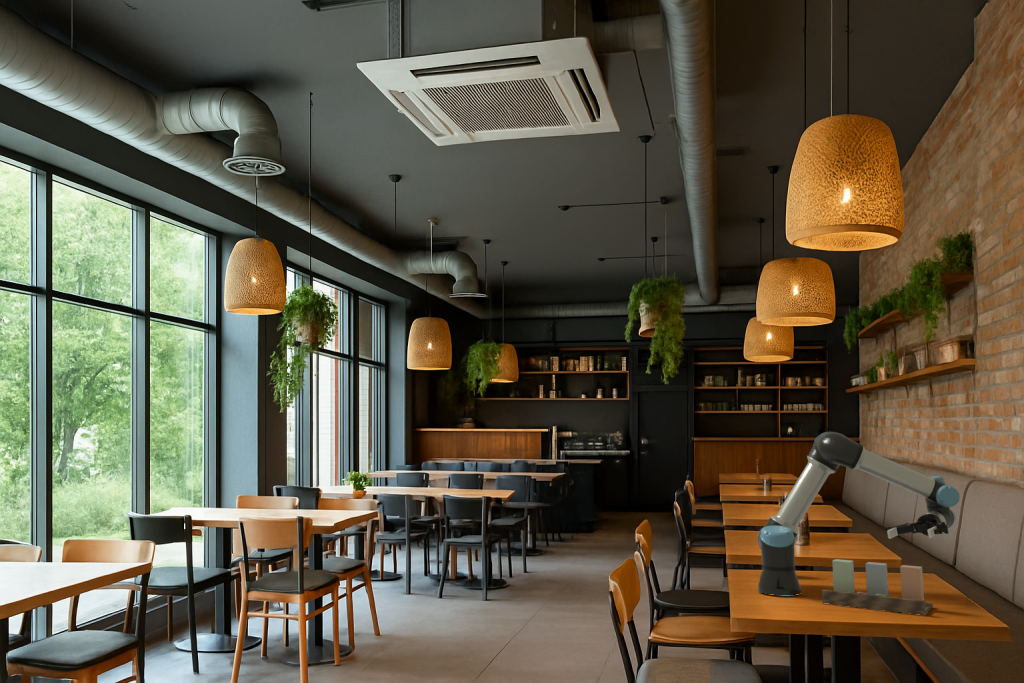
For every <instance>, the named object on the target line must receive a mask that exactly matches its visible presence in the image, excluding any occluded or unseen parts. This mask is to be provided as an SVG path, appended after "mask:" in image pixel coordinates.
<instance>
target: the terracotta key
mask: <svg viewBox="0 0 1024 683" xmlns="http://www.w3.org/2000/svg"><path fill="white" fill-rule="evenodd" d="M899 570H900V584H901V585H900V587H901V588H900V590H901V598H904V599H913V600H922V601H925V592H924V578H923V574H924V572H923V566H917V565H906V564H902V565H901V566H900V567H899Z"/></svg>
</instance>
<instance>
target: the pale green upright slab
mask: <svg viewBox="0 0 1024 683" xmlns="http://www.w3.org/2000/svg"><path fill="white" fill-rule="evenodd" d="M831 563H832V580H833V591H840V592H849V593H856V591H855V589H856V588H855V587H856V585H855V570H854V560H852V559H851V560H849V559H838V558H836V559H835V558H834V559H833V560H832V562H831Z"/></svg>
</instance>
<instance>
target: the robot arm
mask: <svg viewBox="0 0 1024 683" xmlns="http://www.w3.org/2000/svg"><path fill="white" fill-rule="evenodd" d="M806 457H807V464H806V465H805V467H804V469H803V471H802V472H801V474H800V476H799V477H798V479H797V480H796V482H795V484H794V485H793V486H792V489H791V491H790V492H789V494H788V496H787V497H786V499H785V501H784V502H783V504H782V505H781V507H780V509H779V510H778V512H777V514H775V515H771V516H770V517H769V519H768V520H767V522H766V524H765V525H764V526H763V527H762V528H760V529H759V532H758V534H757V544H758V547H759V549H760V551H761V574H760V576H759V580H758V581H759V582H758V585H757V591H759V592H761V593H760V594H762V593H766V594H774V595H796V594H800V593H801V594H802V586H801V585H800V582H799V579H798V576H797V573H796V561H795V560H796V557H795V556H796V555H795V539H796V538H797V536H798V535H799V530H798V527H799V525H800V523H801V522H802V520H803V518H804V517H805V515H806V513H807V512H808V510H809V508H810V507H811V505H812V504H813V502H814V500H815V498H816V496H817V495H818V493H819V492H820V490H821V488H822V487H823V485H824V484H825V482H826V481H827V479H828V477H829V476H830V475H831V474H835V473H836V472H837V470H838V469H839V467H840V466H841V467H842V466H843V467H845V468H847V469H851V470H860V471H862V472H864V473H867V474H869V475H871V476H873V477H876V478H878V479H880V480H882V481H885V482H887V483H889V484H891V485H894V486H897V487H898V488H901V489H903V490H906V491H908V492H911V493H913V494H915V495H918V496H919V497H922V498H924V501H925V504H926V510H927V513H925V514H922V515H921V516H919V517H918V518H917V520H916V522H911V523H909V522H906V523H903V524H898V525H893V526H888V527H887V531H886V532H887V538H888V539H890V540H891V539H893V538H896V537H897V536H899V535H903V534H909V533H910V534H917V533H918V534H923V535H924V536H926V537H927V536H928V539H932V538H933V537H936V536H938V535H942V534H947V535H948V534H949V528H951V527H952V526H953V525H954V524H955V523H956V514H955V512H954V511H953V510H952V509H951V508H952V507H955V506H956V505H957V504H958V503H959V502H960V497H961V496H960V493H959V491H958V489H956V488H955V487H954V486H953V485H951V484H946V482H945V481H944V480H945V479H944V478H943V476H942V475H941V476H940V475H936V476H933V475H931V476H928V475H925V474H923V473H920V472H918V471H916V470H913V469H911V468H909V467H907V466H904V465H901V464H900V463H897V462H896V461H894V460H891V459H888V458H886V457H883V456H880V455H878V454H877V453H874V452H872V451H869V450H867V449H866V448H865V446H864V445H862V444H861V443H858V442H856V441H854V440H852V439H850V438H849V437H847V436H845V434H843V433H839V432H836V431H825V432H823V433H820V434H819V435H818V436H817V437H815V439H814V442H813V445H812V447H811V448H810V451H809V453H808V454H807V455H806ZM759 592H758V593H759ZM801 594H800V595H801Z"/></svg>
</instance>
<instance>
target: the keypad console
mask: <svg viewBox="0 0 1024 683" xmlns="http://www.w3.org/2000/svg"><path fill="white" fill-rule="evenodd" d="M821 596H822V597H821V602H822V604H823V603H829V604H835V605H834V606H836V605H841V606H840V607H845V606H850V607H849V608H853V607H858V608H857V609H861V608H866V609H865V610H870V609H875V610H874V611H878V610H885V611H884V612H886V611H893V612H892V613H895V612H903V613H911V614H920V615H925V614H926V613H927V612H928V611H929V610H930V609H931V608H932V607H933V608H934V604H933V602H927V601H926V600H924V601H922V600H913V599H904V598H902V597H893V596H889V597H887V595H883V594H876V595H867V592H863V591H862V592H861V591H857V592H855V593H849V592H840V591H834V590H829V589H822V590H821ZM933 608H932V609H933ZM932 609H931V610H932ZM931 610H930V611H931ZM930 611H929V612H930ZM929 612H928V613H929ZM903 613H902V614H903ZM928 613H927V614H928ZM911 614H910V615H911ZM920 615H919V616H920Z"/></svg>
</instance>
